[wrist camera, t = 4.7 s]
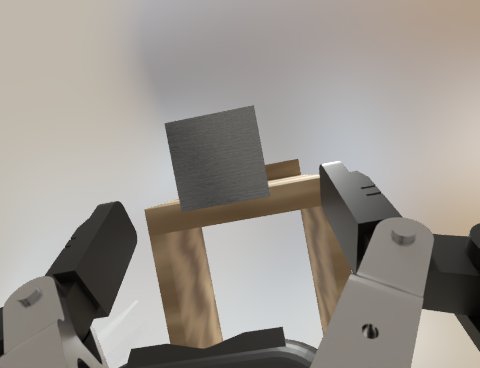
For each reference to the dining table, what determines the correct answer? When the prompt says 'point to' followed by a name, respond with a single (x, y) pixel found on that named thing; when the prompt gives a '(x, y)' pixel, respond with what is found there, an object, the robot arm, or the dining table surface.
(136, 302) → the dining table surface
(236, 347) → the robot arm
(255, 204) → the shelf stand
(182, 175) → the bar
